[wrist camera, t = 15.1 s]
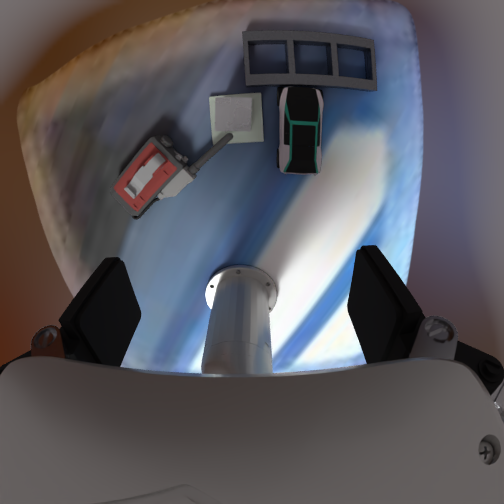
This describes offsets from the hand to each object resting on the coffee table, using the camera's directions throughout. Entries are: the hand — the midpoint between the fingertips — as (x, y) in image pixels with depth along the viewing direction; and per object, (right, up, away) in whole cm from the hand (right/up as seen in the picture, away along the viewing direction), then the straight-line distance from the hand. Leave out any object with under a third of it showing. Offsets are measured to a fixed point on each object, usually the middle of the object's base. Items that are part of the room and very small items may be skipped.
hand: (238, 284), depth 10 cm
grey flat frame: (+8, +27, +19) cm, 35 cm away
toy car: (+7, +19, +25) cm, 32 cm away
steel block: (-2, +20, +23) cm, 30 cm away
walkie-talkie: (-12, +14, +27) cm, 32 cm away
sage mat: (-2, +20, +24) cm, 31 cm away
